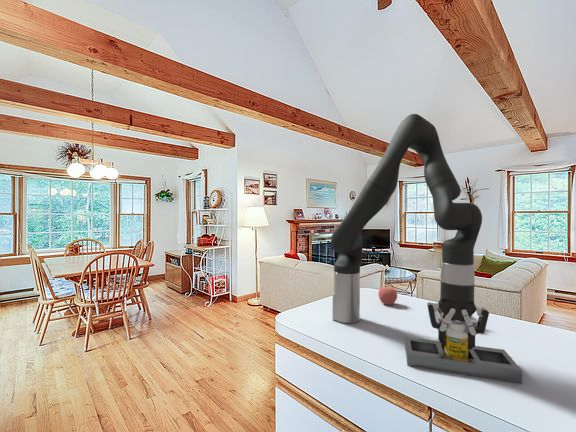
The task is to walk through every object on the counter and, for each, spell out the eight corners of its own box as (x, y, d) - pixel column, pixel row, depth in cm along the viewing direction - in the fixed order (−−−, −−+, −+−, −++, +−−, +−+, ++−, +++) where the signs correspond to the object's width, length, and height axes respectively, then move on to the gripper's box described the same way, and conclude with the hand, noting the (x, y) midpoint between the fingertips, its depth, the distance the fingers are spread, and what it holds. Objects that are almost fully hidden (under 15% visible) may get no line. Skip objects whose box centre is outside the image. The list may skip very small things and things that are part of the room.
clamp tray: (438, 327, 99) (438, 318, 99) (431, 310, 117) (431, 302, 117) (476, 332, 96) (476, 322, 96) (462, 313, 114) (462, 305, 113)
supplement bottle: (464, 356, 77) (465, 319, 77) (470, 366, 72) (471, 327, 72) (442, 353, 79) (442, 317, 79) (446, 362, 74) (447, 324, 74)
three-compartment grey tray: (407, 365, 74) (407, 352, 74) (405, 346, 84) (405, 335, 84) (522, 384, 66) (522, 369, 66) (504, 361, 77) (504, 348, 77)
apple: (375, 302, 128) (375, 283, 128) (390, 301, 129) (390, 283, 129) (384, 307, 120) (384, 288, 120) (400, 306, 122) (400, 287, 122)
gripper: (428, 281, 74) (427, 348, 74) (495, 286, 69) (494, 357, 70) (424, 275, 81) (423, 336, 81) (485, 279, 76) (484, 344, 77)
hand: (456, 346), depth 75 cm, fingers closed on supplement bottle, 5 cm apart
